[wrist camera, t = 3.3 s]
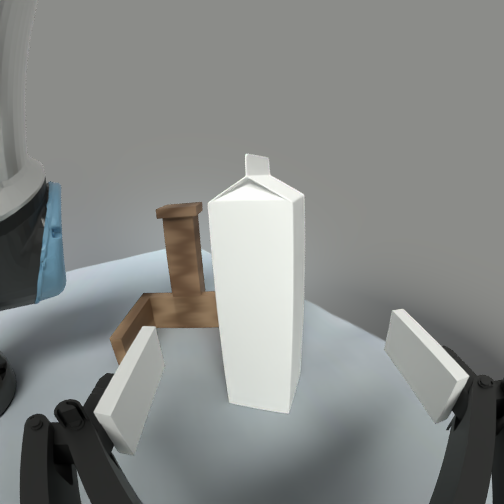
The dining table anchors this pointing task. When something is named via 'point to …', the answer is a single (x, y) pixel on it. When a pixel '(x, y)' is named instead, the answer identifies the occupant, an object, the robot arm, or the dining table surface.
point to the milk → (259, 286)
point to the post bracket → (173, 283)
